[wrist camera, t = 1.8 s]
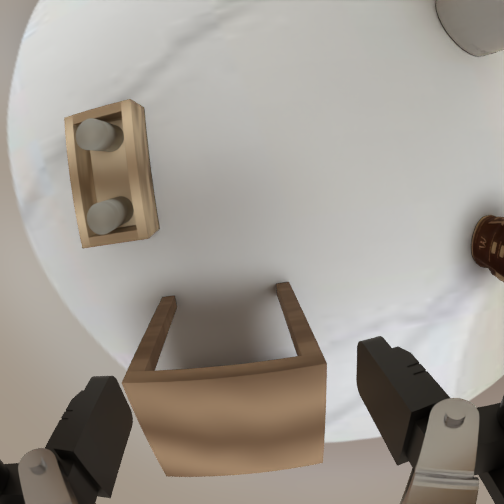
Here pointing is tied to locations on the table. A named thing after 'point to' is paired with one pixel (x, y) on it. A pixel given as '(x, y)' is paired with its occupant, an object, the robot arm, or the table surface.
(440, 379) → the table surface
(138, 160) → the tray
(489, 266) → the coffee cup
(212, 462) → the wooden stool
